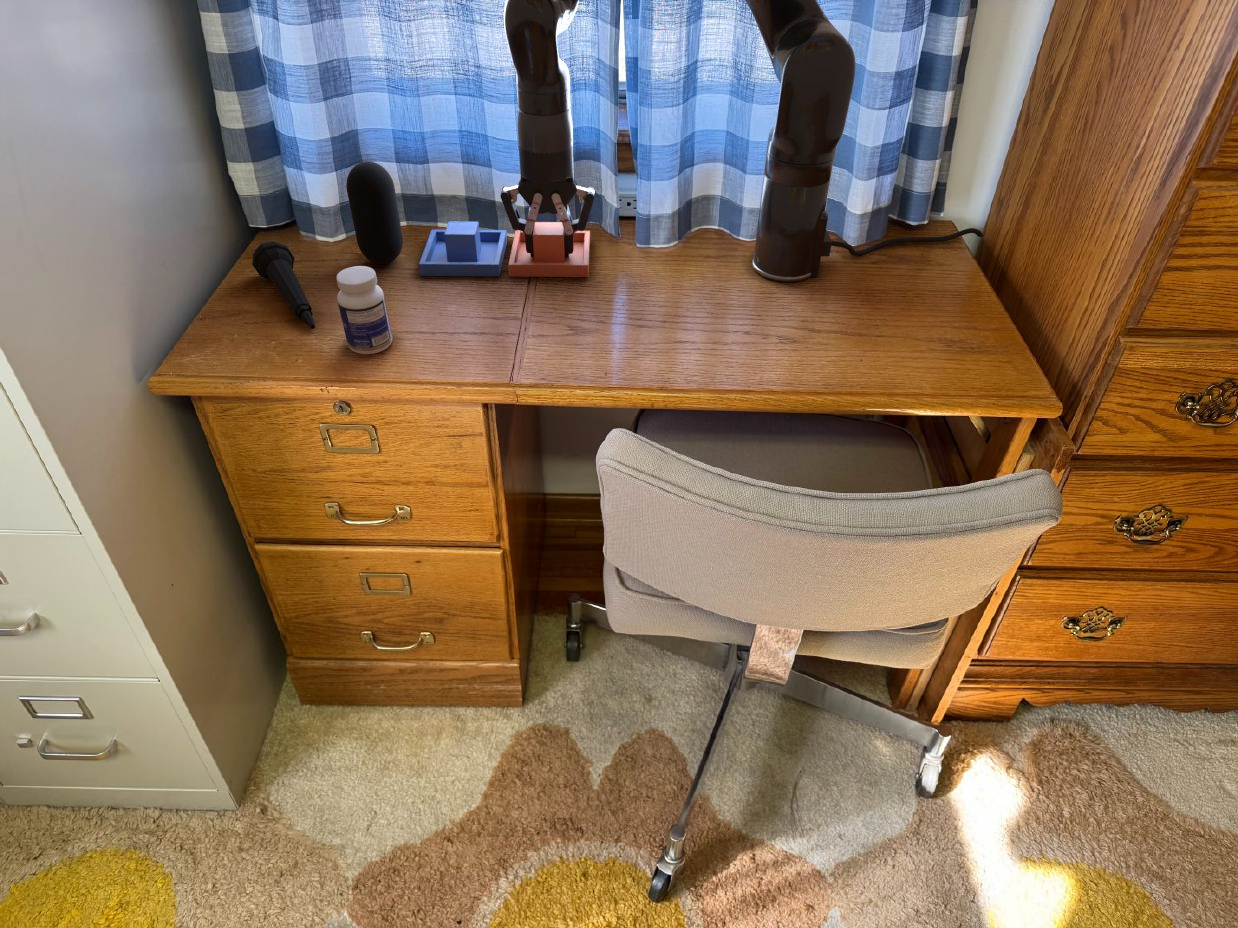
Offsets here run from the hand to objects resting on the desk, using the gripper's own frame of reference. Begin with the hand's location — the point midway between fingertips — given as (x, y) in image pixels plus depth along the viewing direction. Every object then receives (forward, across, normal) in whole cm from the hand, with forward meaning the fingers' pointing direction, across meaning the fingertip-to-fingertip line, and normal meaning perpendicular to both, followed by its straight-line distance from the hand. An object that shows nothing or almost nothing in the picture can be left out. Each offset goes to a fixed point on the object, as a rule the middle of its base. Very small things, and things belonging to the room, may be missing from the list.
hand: (550, 254), depth 129 cm
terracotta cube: (0, 0, 0) cm, 0 cm away
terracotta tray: (+1, 0, 0) cm, 1 cm away
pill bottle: (+1, -22, -24) cm, 33 cm away
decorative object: (+1, -25, -1) cm, 25 cm away
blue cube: (0, -13, 0) cm, 13 cm away
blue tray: (+1, -13, 0) cm, 13 cm away
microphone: (+1, -36, -13) cm, 38 cm away
